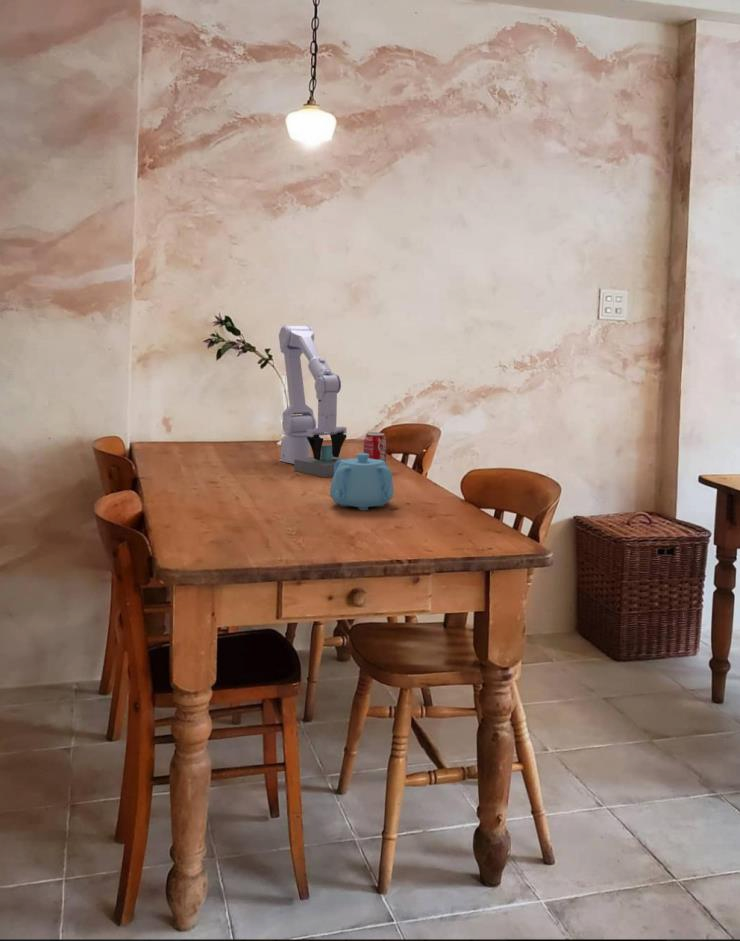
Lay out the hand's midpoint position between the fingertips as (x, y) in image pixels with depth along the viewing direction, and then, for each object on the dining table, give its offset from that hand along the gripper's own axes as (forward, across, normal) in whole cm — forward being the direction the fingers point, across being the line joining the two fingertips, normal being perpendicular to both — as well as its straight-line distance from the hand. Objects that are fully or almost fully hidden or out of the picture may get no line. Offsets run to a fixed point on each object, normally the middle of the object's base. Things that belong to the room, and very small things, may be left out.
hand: (326, 458), depth 285 cm
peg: (+4, 0, 0) cm, 4 cm away
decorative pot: (+4, -25, -42) cm, 49 cm away
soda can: (+4, +12, -9) cm, 16 cm away
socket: (+4, 0, 0) cm, 4 cm away
